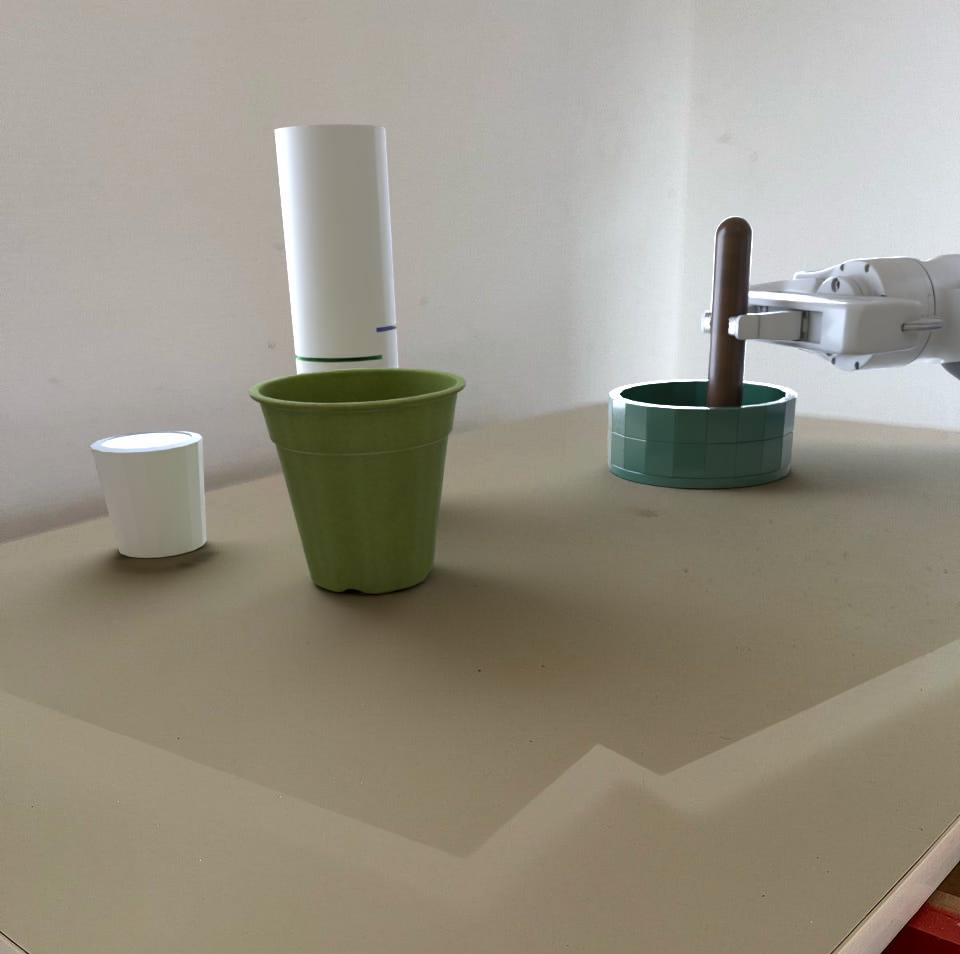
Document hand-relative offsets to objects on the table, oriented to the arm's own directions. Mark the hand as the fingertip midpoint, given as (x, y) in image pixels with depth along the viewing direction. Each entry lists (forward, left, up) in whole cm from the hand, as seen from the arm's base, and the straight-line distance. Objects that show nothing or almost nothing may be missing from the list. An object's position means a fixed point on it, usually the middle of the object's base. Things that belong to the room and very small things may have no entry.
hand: (718, 325), depth 81 cm
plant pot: (+36, +6, -11) cm, 38 cm away
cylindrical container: (+28, -9, -11) cm, 32 cm away
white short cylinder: (+43, -9, -11) cm, 46 cm away
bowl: (+1, 0, -11) cm, 11 cm away
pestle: (-1, 0, -9) cm, 10 cm away
